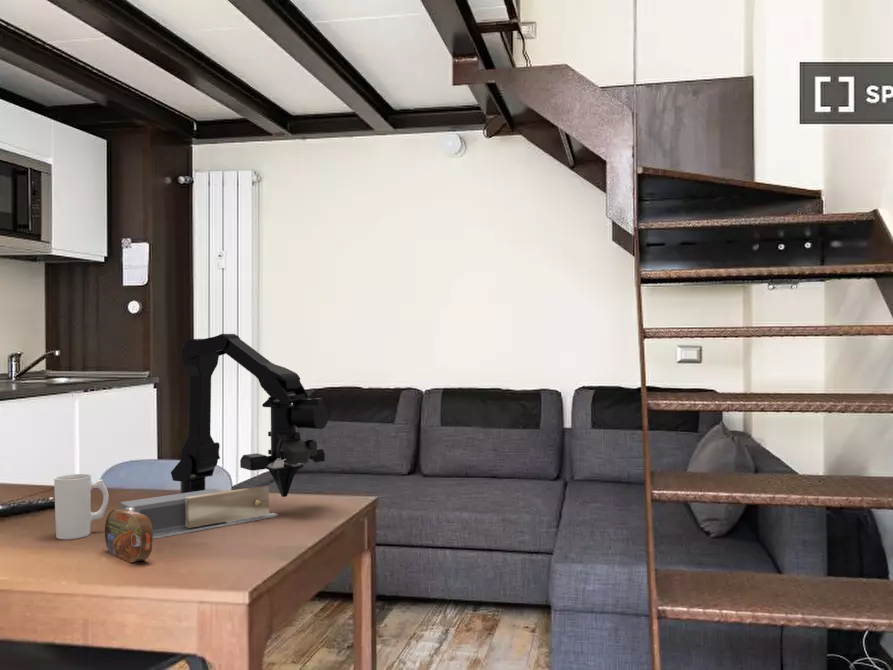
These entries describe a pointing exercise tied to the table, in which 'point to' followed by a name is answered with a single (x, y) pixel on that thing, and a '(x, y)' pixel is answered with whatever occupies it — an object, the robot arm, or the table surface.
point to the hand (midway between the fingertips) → (284, 496)
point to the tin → (128, 535)
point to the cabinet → (164, 510)
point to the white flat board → (186, 530)
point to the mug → (76, 505)
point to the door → (226, 506)
